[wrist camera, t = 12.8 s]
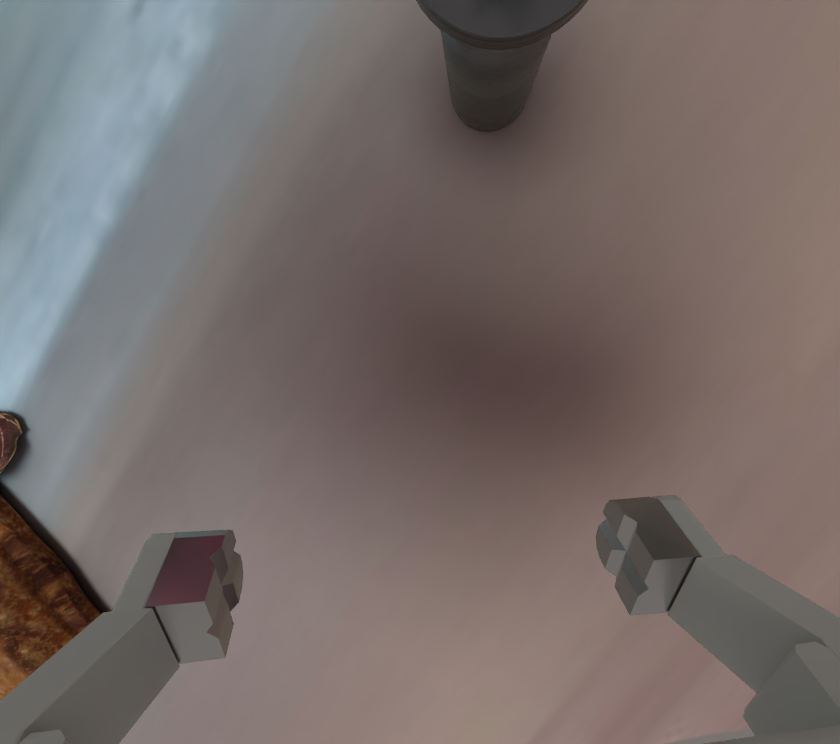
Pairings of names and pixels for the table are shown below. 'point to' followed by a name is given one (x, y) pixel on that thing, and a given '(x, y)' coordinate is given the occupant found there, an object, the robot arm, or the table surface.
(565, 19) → the hook
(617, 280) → the table surface
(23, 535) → the cured meat
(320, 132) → the table surface
